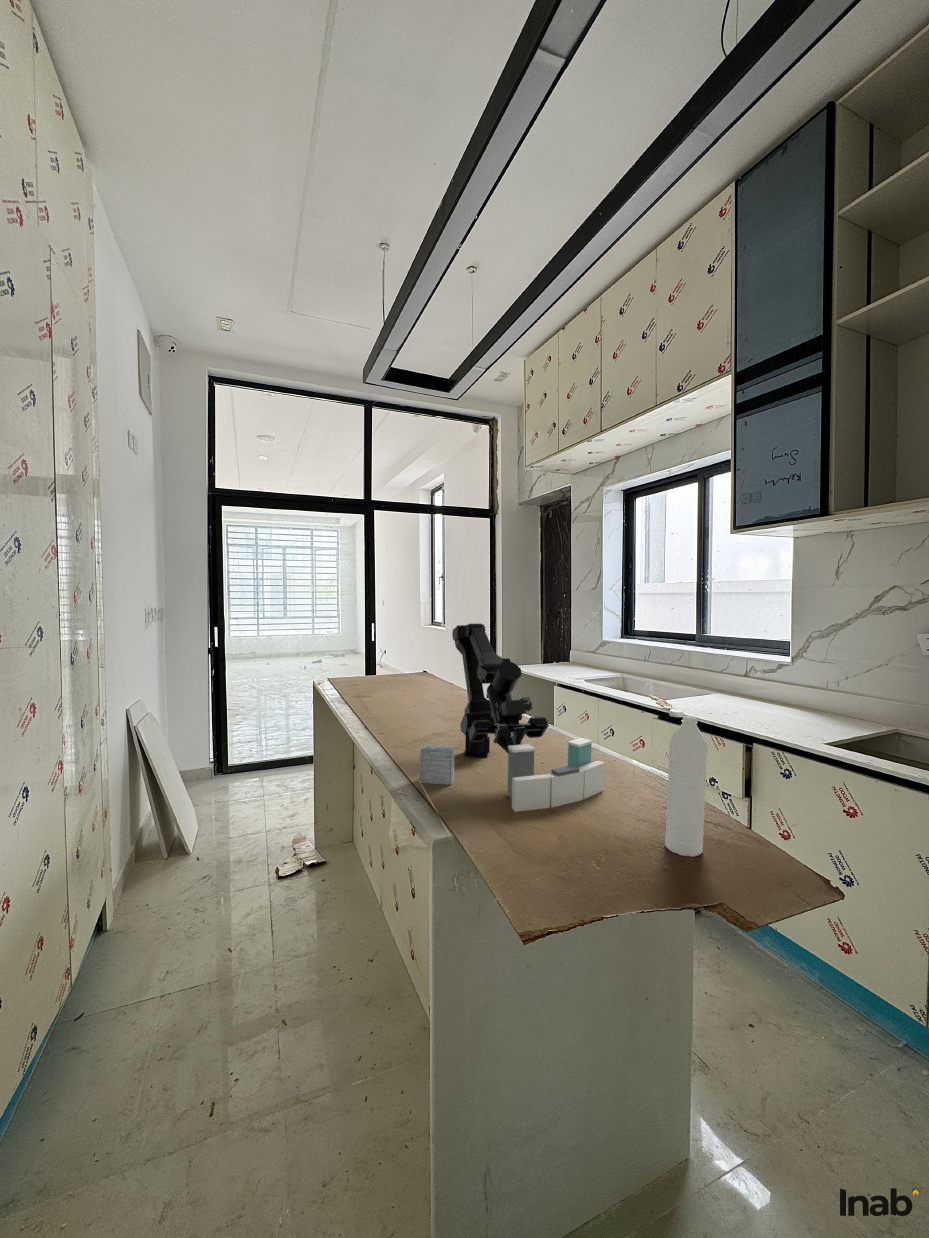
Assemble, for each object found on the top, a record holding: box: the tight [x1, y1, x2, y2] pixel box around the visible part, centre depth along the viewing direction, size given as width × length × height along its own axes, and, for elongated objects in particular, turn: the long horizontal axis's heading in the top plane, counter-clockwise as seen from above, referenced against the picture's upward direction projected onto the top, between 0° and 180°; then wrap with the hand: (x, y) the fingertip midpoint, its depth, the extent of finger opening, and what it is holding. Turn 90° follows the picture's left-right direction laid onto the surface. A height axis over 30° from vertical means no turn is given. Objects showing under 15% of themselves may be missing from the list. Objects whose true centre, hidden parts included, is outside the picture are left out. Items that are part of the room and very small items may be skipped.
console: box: [511, 760, 606, 813], centre depth 118 cm, size 26×4×8 cm, turn 120°
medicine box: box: [419, 744, 455, 786], centre depth 128 cm, size 8×4×9 cm, turn 84°
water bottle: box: [664, 708, 708, 858], centre depth 98 cm, size 9×6×25 cm
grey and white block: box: [507, 743, 536, 801], centre depth 119 cm, size 3×5×12 cm, turn 107°
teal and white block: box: [567, 737, 593, 768], centre depth 124 cm, size 3×5×12 cm, turn 133°
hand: (517, 761), depth 121 cm, fingers closed
